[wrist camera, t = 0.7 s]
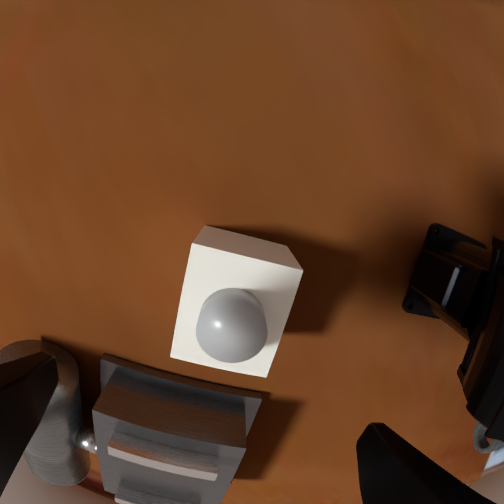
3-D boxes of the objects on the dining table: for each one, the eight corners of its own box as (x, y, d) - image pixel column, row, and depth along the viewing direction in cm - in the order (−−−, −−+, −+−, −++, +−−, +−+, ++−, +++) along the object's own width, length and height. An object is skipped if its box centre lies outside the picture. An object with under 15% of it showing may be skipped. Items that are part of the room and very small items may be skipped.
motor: (261, 392, 21) (269, 465, 14) (223, 483, 24) (222, 537, 17) (22, 320, 19) (-28, 361, 12) (43, 427, 22) (17, 470, 15)
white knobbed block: (286, 245, 18) (311, 281, 12) (260, 331, 20) (268, 396, 13) (205, 224, 18) (186, 251, 11) (185, 314, 19) (164, 374, 13)
